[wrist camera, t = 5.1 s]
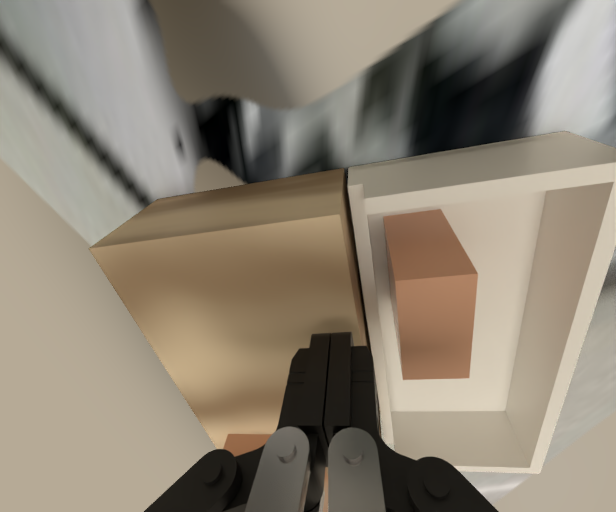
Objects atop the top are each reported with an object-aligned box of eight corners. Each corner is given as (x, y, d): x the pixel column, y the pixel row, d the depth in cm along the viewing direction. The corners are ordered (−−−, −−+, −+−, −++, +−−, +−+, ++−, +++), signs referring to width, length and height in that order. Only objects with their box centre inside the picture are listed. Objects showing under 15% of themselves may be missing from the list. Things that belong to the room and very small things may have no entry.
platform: (157, 199, 16) (88, 248, 12) (344, 168, 14) (340, 214, 10) (256, 409, 25) (237, 480, 21) (379, 408, 23) (385, 486, 19)
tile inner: (395, 280, 10) (478, 273, 10) (383, 216, 15) (440, 209, 14) (402, 379, 13) (469, 378, 12) (390, 300, 17) (439, 296, 16)
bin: (348, 167, 14) (346, 201, 11) (565, 130, 12) (645, 158, 9) (382, 408, 23) (386, 468, 20) (510, 408, 21) (540, 473, 18)
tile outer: (227, 433, 18) (211, 483, 16) (313, 434, 17) (308, 488, 15) (253, 477, 20) (241, 525, 18) (329, 480, 19) (326, 531, 17)
